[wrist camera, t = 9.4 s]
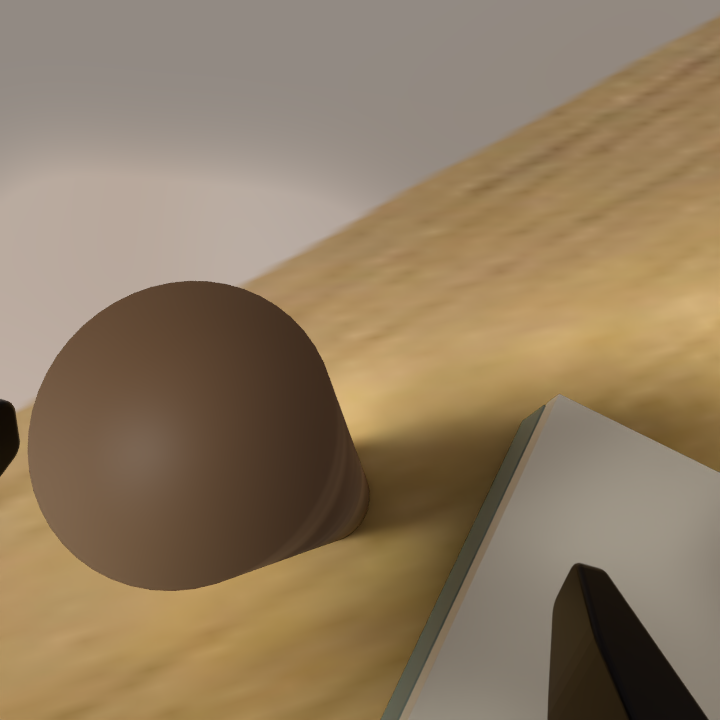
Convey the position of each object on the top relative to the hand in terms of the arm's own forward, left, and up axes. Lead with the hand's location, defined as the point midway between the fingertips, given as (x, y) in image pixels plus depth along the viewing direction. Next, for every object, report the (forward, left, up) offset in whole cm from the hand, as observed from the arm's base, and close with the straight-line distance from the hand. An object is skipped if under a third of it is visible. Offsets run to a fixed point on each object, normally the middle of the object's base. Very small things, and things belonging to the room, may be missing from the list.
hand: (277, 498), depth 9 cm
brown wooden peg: (0, 0, -8) cm, 8 cm away
